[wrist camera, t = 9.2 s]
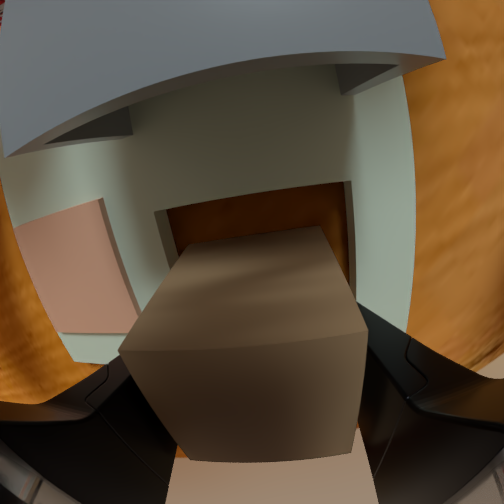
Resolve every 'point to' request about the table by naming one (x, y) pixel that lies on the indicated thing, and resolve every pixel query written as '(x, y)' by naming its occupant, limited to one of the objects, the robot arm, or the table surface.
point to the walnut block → (253, 350)
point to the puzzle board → (211, 192)
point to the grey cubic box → (184, 55)
